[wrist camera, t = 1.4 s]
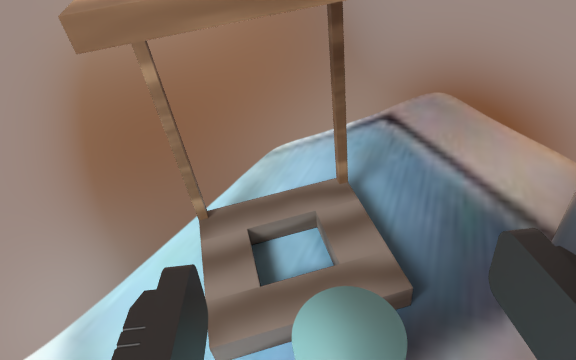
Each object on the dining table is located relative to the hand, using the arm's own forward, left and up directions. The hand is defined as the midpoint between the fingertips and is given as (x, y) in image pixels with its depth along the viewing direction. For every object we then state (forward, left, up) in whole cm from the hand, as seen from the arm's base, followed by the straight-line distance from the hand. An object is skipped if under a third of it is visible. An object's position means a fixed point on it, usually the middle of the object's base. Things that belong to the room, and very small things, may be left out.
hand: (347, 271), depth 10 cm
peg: (+1, -2, -22) cm, 22 cm away
